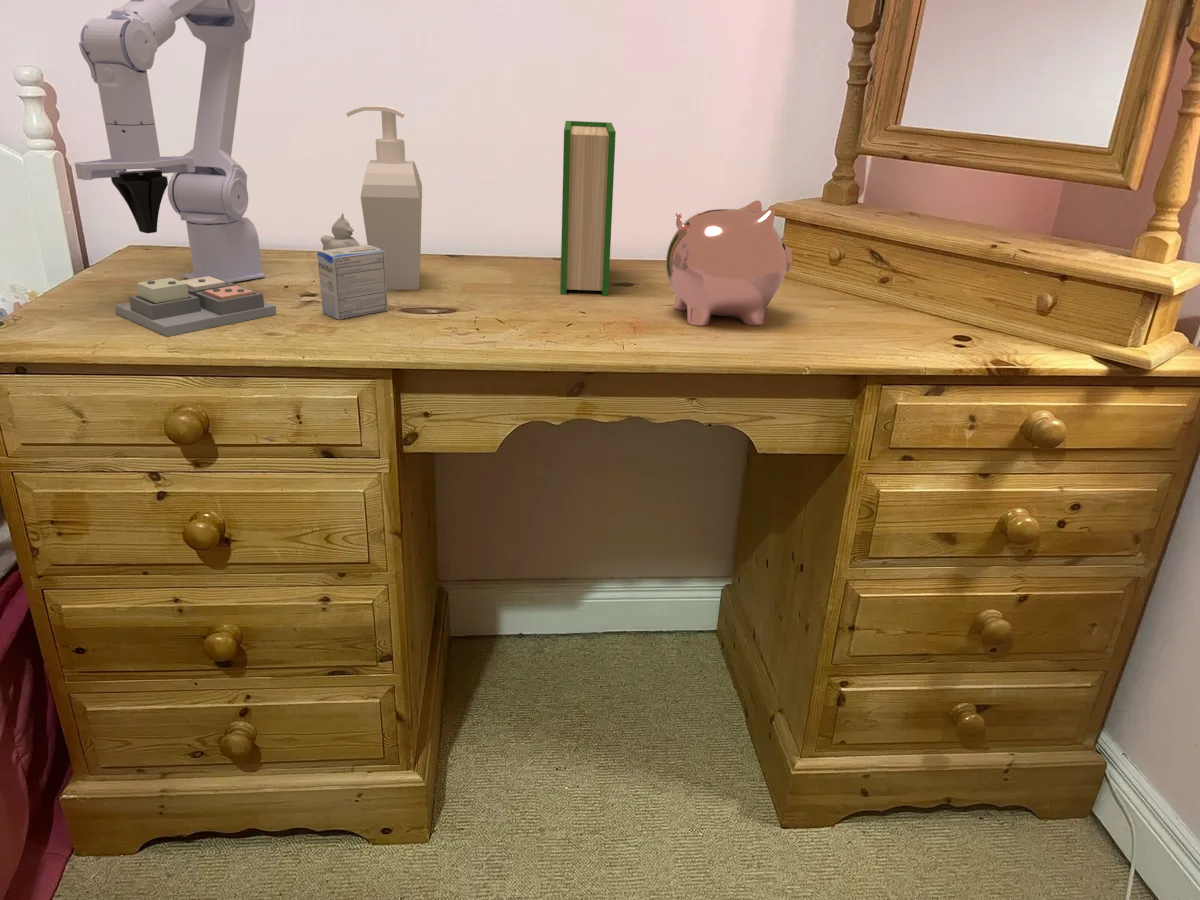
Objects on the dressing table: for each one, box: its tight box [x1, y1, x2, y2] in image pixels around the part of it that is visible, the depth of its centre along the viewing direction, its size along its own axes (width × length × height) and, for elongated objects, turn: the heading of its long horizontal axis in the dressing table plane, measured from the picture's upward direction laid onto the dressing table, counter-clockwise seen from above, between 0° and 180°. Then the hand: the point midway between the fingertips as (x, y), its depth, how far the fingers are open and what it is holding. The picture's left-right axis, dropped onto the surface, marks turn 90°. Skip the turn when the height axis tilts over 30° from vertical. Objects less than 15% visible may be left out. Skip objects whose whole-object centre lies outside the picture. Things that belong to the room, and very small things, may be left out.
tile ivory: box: [180, 276, 226, 290], centre depth 121 cm, size 4×4×2 cm
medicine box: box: [316, 244, 389, 321], centre depth 120 cm, size 8×4×9 cm, turn 134°
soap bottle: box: [345, 105, 423, 291], centre depth 132 cm, size 12×10×26 cm
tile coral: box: [204, 284, 254, 300], centre depth 117 cm, size 4×4×2 cm
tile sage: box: [136, 277, 189, 303], centre depth 114 cm, size 4×4×2 cm
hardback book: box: [559, 120, 617, 297], centre depth 139 cm, size 18×7×24 cm, turn 1°
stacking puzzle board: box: [114, 276, 277, 337], centre depth 118 cm, size 15×14×3 cm
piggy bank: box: [665, 200, 793, 327], centre depth 125 cm, size 15×18×16 cm
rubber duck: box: [320, 212, 361, 251], centre depth 150 cm, size 5×7×8 cm
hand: (148, 231), depth 117 cm, fingers closed
